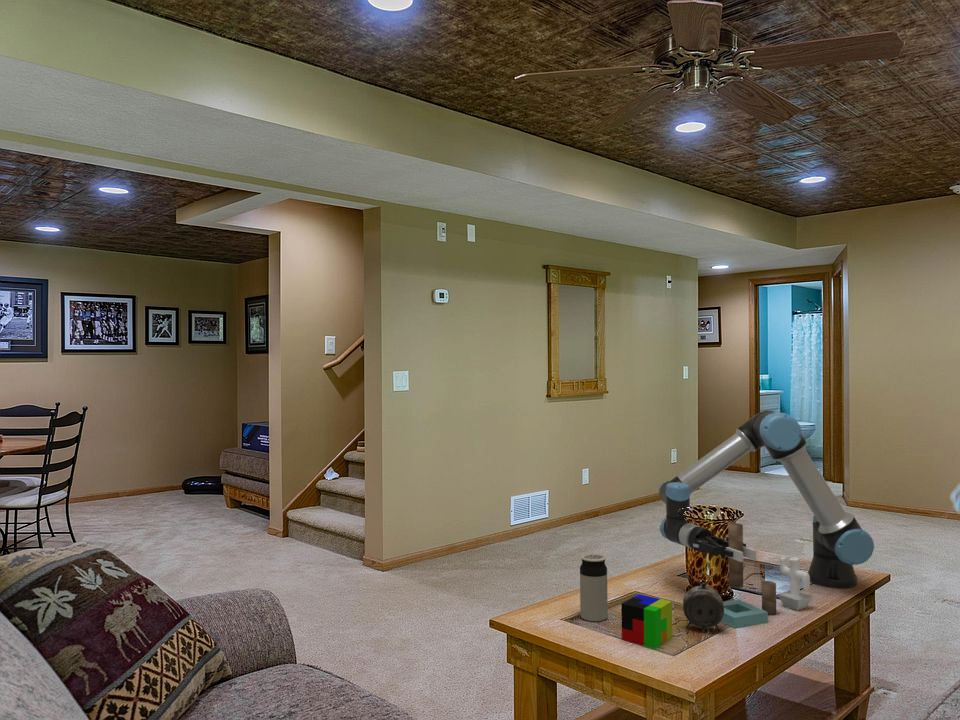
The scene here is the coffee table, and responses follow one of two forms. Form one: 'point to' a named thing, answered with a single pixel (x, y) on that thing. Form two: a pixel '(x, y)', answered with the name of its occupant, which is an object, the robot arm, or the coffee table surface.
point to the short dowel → (769, 597)
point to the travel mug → (593, 588)
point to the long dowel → (734, 565)
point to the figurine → (794, 584)
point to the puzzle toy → (646, 621)
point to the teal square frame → (742, 614)
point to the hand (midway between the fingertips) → (748, 556)
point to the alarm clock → (703, 606)
